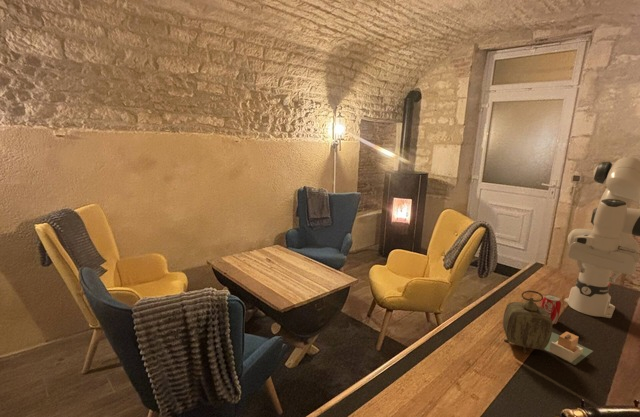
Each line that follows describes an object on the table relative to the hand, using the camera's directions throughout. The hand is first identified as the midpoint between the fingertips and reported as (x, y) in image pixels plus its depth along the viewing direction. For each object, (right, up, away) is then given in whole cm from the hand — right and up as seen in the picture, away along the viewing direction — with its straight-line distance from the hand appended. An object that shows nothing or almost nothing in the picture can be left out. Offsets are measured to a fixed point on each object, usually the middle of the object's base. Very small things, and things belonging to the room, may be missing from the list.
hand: (596, 276), depth 126 cm
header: (-13, -29, -1) cm, 31 cm away
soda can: (-4, -25, +22) cm, 33 cm away
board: (-13, -28, +5) cm, 31 cm away
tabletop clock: (-28, -29, +1) cm, 40 cm away
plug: (-13, -29, -1) cm, 31 cm away
